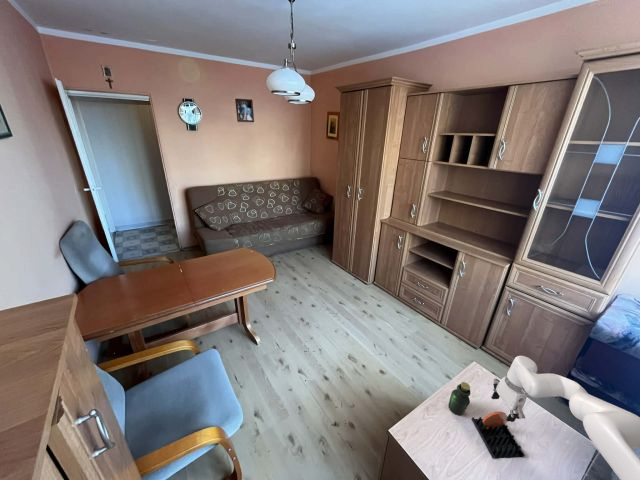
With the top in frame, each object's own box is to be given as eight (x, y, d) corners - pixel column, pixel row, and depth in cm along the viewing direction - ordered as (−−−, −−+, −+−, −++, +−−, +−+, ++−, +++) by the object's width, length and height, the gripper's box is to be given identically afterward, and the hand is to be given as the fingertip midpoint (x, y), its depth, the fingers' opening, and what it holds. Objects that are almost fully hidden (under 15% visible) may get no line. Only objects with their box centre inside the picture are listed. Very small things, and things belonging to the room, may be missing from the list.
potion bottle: (445, 412, 128) (455, 388, 120) (447, 398, 135) (456, 374, 127) (463, 421, 125) (475, 397, 117) (464, 406, 131) (475, 383, 123)
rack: (523, 458, 112) (528, 451, 110) (492, 459, 111) (496, 452, 109) (498, 419, 127) (502, 412, 124) (470, 419, 126) (474, 413, 123)
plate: (502, 428, 122) (511, 413, 117) (480, 429, 121) (488, 414, 116) (501, 426, 123) (510, 411, 118) (478, 427, 122) (486, 411, 117)
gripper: (541, 403, 101) (525, 430, 108) (509, 364, 116) (497, 390, 123) (523, 403, 100) (507, 430, 107) (493, 365, 116) (481, 390, 123)
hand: (502, 409), depth 115 cm, fingers open, 9 cm apart
